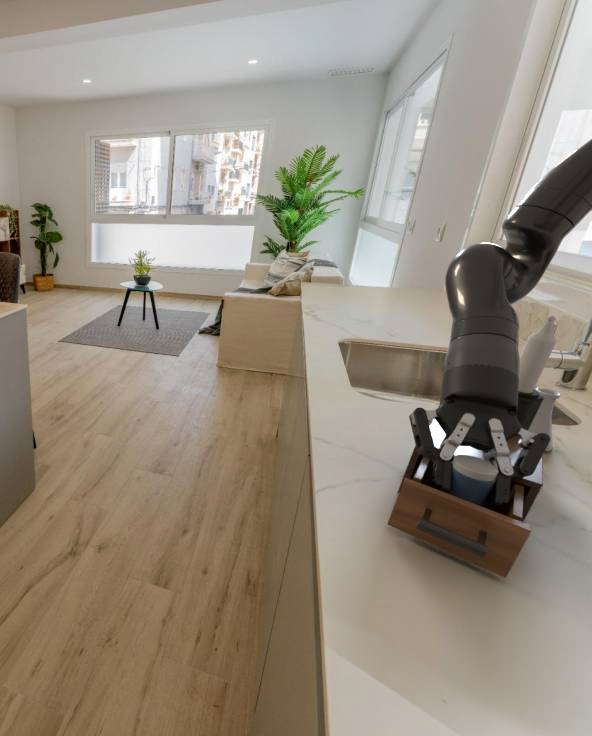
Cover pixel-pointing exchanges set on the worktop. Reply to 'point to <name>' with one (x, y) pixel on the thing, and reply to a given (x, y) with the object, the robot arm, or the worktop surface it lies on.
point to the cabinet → (530, 482)
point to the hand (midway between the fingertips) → (468, 498)
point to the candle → (533, 371)
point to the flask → (545, 414)
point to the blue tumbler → (472, 479)
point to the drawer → (462, 522)
